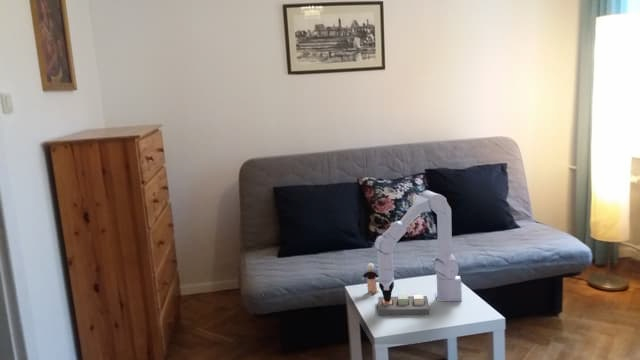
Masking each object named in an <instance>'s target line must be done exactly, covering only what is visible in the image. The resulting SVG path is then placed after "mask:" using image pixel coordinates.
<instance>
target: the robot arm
mask: <svg viewBox="0 0 640 360" xmlns="http://www.w3.org/2000/svg"><path fill="white" fill-rule="evenodd" d="M432 211H433V212H434V213H435V214H436V221H437V222H436V223H437V224H436V226H437V229H436V232H437V233H436V234H437V253H436V254H435V255H434V256H435V257H434V261H433V263H432V267H433V270H434V271H435V273H436V292H435V298H436V301H437V302H462V301H463V299H462V295H463V294H462V293H463V292H462V279H461V276H460V275H459V274H458V273H459V266H458V265H457V259H456V257H455V256H454V254H453V242H452V240H453V239H452V238H453V237H452V235H453V234H452V232H453V229H452V225H453V224H452V208H451V206H450V205H449V202H448V201H447V198H446V197H445V196H444V195H442V194H440V193H436V192H434V191H431V190H427V189H425V190H423V191H421V193H420V194H419V195H418V196H417V197H416V199H415V201H414V203H413V204H412V205H411V206H410V208H409V209H408V210H407V212H406V213H405V214H404V215H403V216H402V218H401V219H400V220H397V221H396V220H395V221H394V222H391V223H390V226H389V227H388V229H387V230H385V232H383V233H382V235H379V236H377V238H376V239H375V241H374V242H373V246H374V247H375V249H376V253H377V269H378V270H377V271H378V273H377V275H378V276H379V277H378V278H376V277H375V279H376V282H378V287H379V289H380V290H381V292H382V297H384V301H385V302H390V300H391V297H392V292H393V289H394V287H395V277H394V275H395V274H394V261H393V260H394V259H393V251H394V250H395V247H396V245H397V243H398V242H399V241H400V239H401V238H402V237H404V235H405V234H406V232H407V231H408V230H407V227H408V226H410V224H411V223H412V222H413V221H414V220H416V218H417V217H419V215H421V214H422V213H429V212H432Z"/></svg>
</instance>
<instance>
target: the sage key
mask: <svg viewBox="0 0 640 360" xmlns="http://www.w3.org/2000/svg"><path fill="white" fill-rule="evenodd" d="M408 296H409V295H407V294H403V295H402V294H401V295H400V294H398V295H397V297H398V305H408Z"/></svg>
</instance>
